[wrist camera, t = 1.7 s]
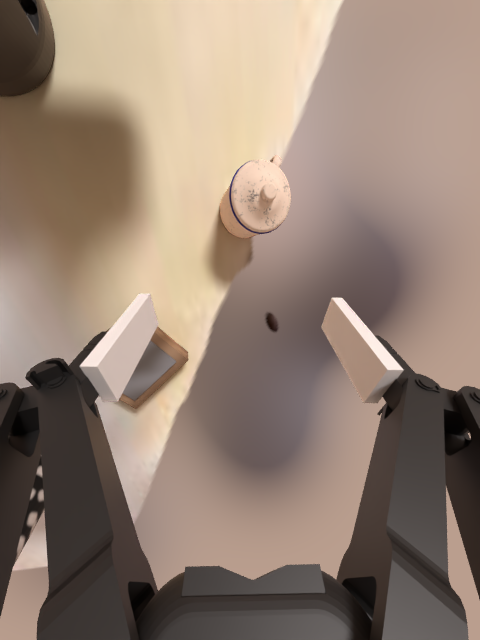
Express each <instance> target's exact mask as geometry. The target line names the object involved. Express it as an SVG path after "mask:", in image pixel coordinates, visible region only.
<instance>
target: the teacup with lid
mask: <svg viewBox="0 0 480 640" xmlns="http://www.w3.org/2000/svg"><path fill="white" fill-rule="evenodd" d="M280 165H281V158H280V157H279V156H278V155H275V156H274V157H273V158H272V159H271V160H270V162H269V161H267V160H252V161H249V162H247V163H245V164H244V165H242V166H241V167H240V168H239V169H238V170H237V172H236V173H235V175H234V177H233V179H232V182H231V184H230V186H229V188H228V189H227V191H226V192H225V194H224V195H223V197H222V200H221V204H220V216H221V219H222V222H223V224H224V226H225V228H226V229H227V230H228V231H229V232H230V233H231V234H233V235H234V236H236V237H239V238H249V237H252V236H255V235H258V234H264V233H269V232H271V231H273V230H275V229H277V228H278V227H279V226H280V225H281V224H282V223H283V221H284V220H285V218H286V216H287V214H288V211H289V208H290V201H291V194H290V187H289V183H288V181H287V178H286V177H285V175H284V173H283V172H282V171H281V170H280V168H279V167H280Z"/></svg>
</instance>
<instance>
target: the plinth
mask: <svg viewBox="0 0 480 640" xmlns="http://www.w3.org/2000/svg"><path fill="white" fill-rule="evenodd" d="M110 329H111V328H110ZM110 329H108V330H107V331H106V332H108V331H109V330H110ZM187 361H188V352H187V351H186V350H185V349H183V348H182V347H181V346H180V345H179V344H177V343H176V342H175V341H174V340H173V339H172V338H170V337H169V336H168V335H167V334H166V333H164V332H163V331H162V330H161V329H160V328H159V327H157V328H156V330H155V332H154V334H153V336H152V338H151V340H150V342H149V343H148V345H147V347H146V349H145V351H144V353H143V355H142V357H141V359H140V361H139V363H138V364H137V366H136V368H135V370H134V372H133V374H132V376H131V378H130V380H129V382H128V383H127V385H126V387H125V389H124V391H123V393H122V395H121V397H120V400H122V401H123V402H125V403H127V404H128V405H130V406H132V407H133V408H135V409H137V408H138V407H139V406H140V405H141V404H142V403H143V402H144V401H145V400H146V399H147V398H148V397H149V396H151V395H152V394H153V393H154V392H155V391H156V390H157V389H158V388H159V387H160V386H161V385H162V384H163V383H164V382H165V381H167V380H168V379H169V378H170V377H171V376H172V375H173V374H174V373H175V372H176V371H177V370H178V369H179V368H180V367H181V366H183V365H184V364H185V363H186V362H187Z"/></svg>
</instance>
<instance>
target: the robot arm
mask: <svg viewBox="0 0 480 640" xmlns="http://www.w3.org/2000/svg"><path fill="white" fill-rule="evenodd" d="M53 57H54V34H53V28H52V23H51V19H50V16H49V13H48V10H47V7H46V4H45V2H44V0H0V96H13V95H19V94H23V93H26V92H29V91H31V90H32V89H34V88H36V87H37V86H38V85H39V84H40V83H42V81H43V80H44V79H45V78H46V76H47V75H48V73H49V71H50V68H51V66H52V62H53ZM157 326H158V320H157V317H156V313H155V309H154V306H153V302H152V298H151V294H140V293H139V295H138V296H137V297H136V298H135V299H134V301H133V302H132V303H131V304H130V306H129V307H128V308H127V309H126V310H125V312H124V313H123V314H122V315H121V316H120V318H119V319H118V320H117V321H116V323H115V324H114V325H113V326H112V327H111V329H110V330H109V331H108V332H101V333H100V334H98V335H97V336H95V337H94V338H93V339H92V340H91V341H90V342H89V343H88V345H87V346H86V347H85V348H84V349H83V351H81V352H80V354H79V355H78V356H77V357H76V358H75V359H74V360H73V362H72V363H71V364H70V365H69V366H68V365H67V363H66V362H65V361H64V359H61V358H52V359H49V360H45V361H43V362H41V363H39V364H37V365H36V366H34V367H33V368H31V369H30V370H29V372H28V373H27V374H26V377H25V378H26V379H27V380H28V381H29V382H30V383H31V384H32V385H33V386H30V387H26V388H22V389H20V388H19V387H18V386H17V385H16V384H14V383H4V384H0V616H1V612H2V608H3V604H4V600H5V596H6V592H7V588H8V584H9V580H10V576H11V572H12V568H13V564H14V560H15V556H16V552H17V548H18V544H19V540H20V536H21V532H22V528H23V524H24V521H25V517H26V513H27V509H28V505H29V501H30V497H31V493H32V489H33V485H34V481H35V477H36V473H37V469H38V465H39V461H40V457H41V461H42V477H43V494H44V510H45V526H46V542H47V558H48V572H49V592H48V596H47V598H46V600H45V602H44V603H43V605H42V607H41V609H40V613H39V617H38V621H37V640H468V627H467V619H466V613H465V609H464V607H463V604H462V602H461V599H460V598H459V596H458V595H457V594H456V593H455V591H454V590H453V589H452V588H451V585H450V583H449V578H448V554H447V516H446V486H447V490H448V493H449V496H450V500H451V503H452V507H453V510H454V513H455V517H456V520H457V524H458V527H459V530H460V534H461V537H462V541H463V544H464V547H465V551H466V554H467V558H468V561H469V564H470V568H471V571H472V575H473V578H474V582H475V585H476V588H477V592H478V595H479V599H480V389H477V388H475V387H469V386H464V387H462V388H461V389H460V390H459V391H458V392H456V391H452V390H448V389H444V388H441V387H440V386H439V385H438V384H437V383H436V382H435V381H433V380H432V379H430V378H428V377H426V376H423V375H421V374H416V373H415V372H414V371H413V370H412V369H411V368H410V367H409V366H408V365H407V364H406V362H405V361H404V360H403V359H402V358H401V357H400V356H399V355H398V354H397V352H396V351H395V350H394V349H392V347H391V346H390V345H389V343H388V342H387V341H385V340H384V339H382V338H381V337H380V336H374V335H373V334H372V332H370V330H369V329H368V328H367V327H366V326H365V324H364V323H363V322H362V321H361V320H360V319H359V317H358V316H357V315H356V314H355V313H354V311H353V310H352V309H351V308H350V307H349V306H348V304H347V303H346V302H345V301H344V300H343V299H342V298H332V299H331V301H330V304H329V307H328V310H327V313H326V315H325V318H324V321H323V324H322V329H323V331H324V333H325V335H326V337H327V338H328V340H329V342H330V344H331V346H332V347H333V349H334V351H335V353H336V355H337V356H338V358H339V360H340V362H341V363H342V365H343V367H344V369H345V371H346V372H347V374H348V376H349V378H350V380H351V382H352V383H353V385H354V387H355V389H356V391H357V392H358V394H359V396H360V397H361V400H362V401H363V403H378V402H379V400H380V399H381V397H383V398H384V399H385V401H386V402H387V403H386V404H385V405H384V406H383V407H382V409H381V410H380V411H379V412H378V415H380V414H381V413H382V415H381V420H380V424H379V428H378V432H377V437H376V441H375V445H374V449H373V453H372V457H371V461H370V465H369V469H368V473H367V478H366V482H365V486H364V490H363V494H362V498H361V502H360V507H359V511H358V515H357V519H356V523H355V527H354V532H353V535H352V540H351V543H350V545H349V548H348V549H347V551H346V553H345V554H344V556H343V559H342V562H341V564H340V568H339V571H338V576H337V579H334V578H333V577H332V576H330V575H328V574H327V573H325V572H323V571H321V569H320V564H313V565H312V564H310V565H286V566H283V567H281V568H278V569H276V570H274V571H271V572H269V573H267V574H265V575H263V576H261V577H259V578H257V579H255V580H251V579H248V578H246V577H244V576H241V575H239V574H236V573H234V572H232V571H229V570H226V569H224V568H222V567H220V566H200V567H185V572H183V573H181V574H179V575H177V576H176V577H174V578H173V579H171V580H170V581H169V582H167V584H165V585H164V586H163V587H162V588H161V589H160V590H159V591H158V590H157V586H156V583H155V580H154V577H153V574H152V571H151V568H150V565H149V563H148V560H147V558H146V556H145V555H144V553H143V551H142V549H141V547H140V543H139V540H138V537H137V534H136V531H135V527H134V524H133V521H132V518H131V514H130V511H129V508H128V505H127V502H126V498H125V495H124V492H123V489H122V485H121V482H120V479H119V476H118V472H117V469H116V466H115V463H114V459H113V456H112V453H111V450H110V446H109V443H108V440H107V437H106V433H105V430H104V427H103V424H102V420H101V417H100V414H99V411H98V408H97V405H96V403H95V400H96V399H97V397H98V395H99V396H100V398H101V399H102V401H105V402H118V401H119V399H120V397H121V395H122V393H123V391H124V389H125V387H126V385H127V383H128V382H129V380H130V378H131V376H132V374H133V372H134V370H135V368H136V366H137V364H138V363H139V361H140V359H141V357H142V355H143V353H144V351H145V349H146V347H147V345H148V343H149V342H150V340H151V338H152V336H153V334H154V332H155V330H156V328H157ZM469 432H470V434H471V439H470V438H469V435H468V433H469Z"/></svg>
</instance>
